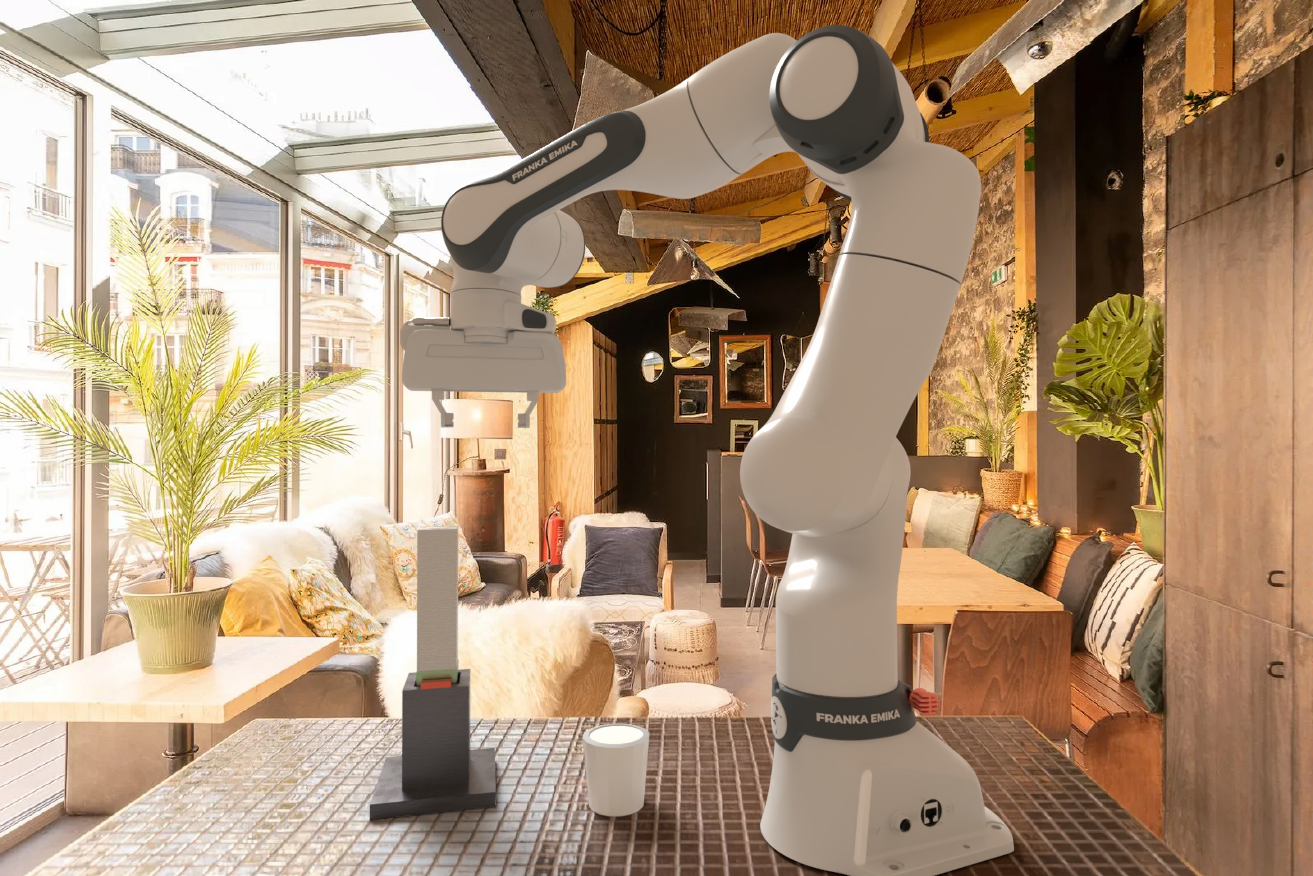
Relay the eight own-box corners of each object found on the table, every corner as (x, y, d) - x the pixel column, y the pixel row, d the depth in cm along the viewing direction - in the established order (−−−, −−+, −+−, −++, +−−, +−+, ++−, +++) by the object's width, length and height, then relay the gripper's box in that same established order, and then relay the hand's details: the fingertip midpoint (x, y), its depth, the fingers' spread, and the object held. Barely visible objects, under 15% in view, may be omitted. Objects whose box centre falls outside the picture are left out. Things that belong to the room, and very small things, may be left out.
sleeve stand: (494, 760, 87) (494, 655, 88) (495, 807, 76) (495, 685, 76) (386, 770, 85) (386, 662, 85) (369, 820, 73) (370, 694, 74)
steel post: (458, 689, 83) (458, 525, 84) (456, 700, 79) (457, 529, 80) (419, 692, 82) (420, 526, 83) (416, 703, 78) (416, 530, 79)
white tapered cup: (642, 822, 72) (641, 749, 73) (573, 816, 74) (573, 744, 74) (656, 791, 79) (656, 724, 79) (593, 786, 80) (593, 720, 81)
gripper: (397, 311, 90) (396, 426, 90) (567, 317, 95) (567, 426, 94) (403, 320, 96) (402, 428, 96) (563, 326, 101) (563, 429, 101)
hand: (485, 427), depth 95 cm, fingers open, 8 cm apart
